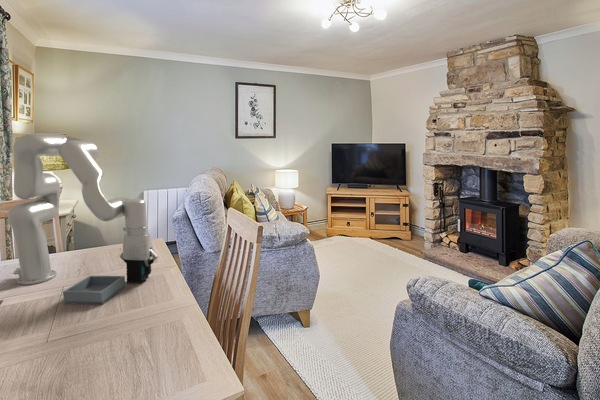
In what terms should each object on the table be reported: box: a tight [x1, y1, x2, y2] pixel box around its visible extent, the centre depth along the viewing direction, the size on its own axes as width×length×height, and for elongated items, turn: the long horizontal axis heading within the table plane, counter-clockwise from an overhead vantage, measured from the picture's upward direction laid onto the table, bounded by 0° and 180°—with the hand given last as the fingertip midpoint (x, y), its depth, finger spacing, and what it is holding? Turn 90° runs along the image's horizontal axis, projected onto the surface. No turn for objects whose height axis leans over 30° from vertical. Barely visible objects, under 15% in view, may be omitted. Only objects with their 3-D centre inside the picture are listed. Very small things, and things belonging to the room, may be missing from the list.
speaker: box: [125, 259, 149, 284], centre depth 131 cm, size 8×6×10 cm
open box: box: [62, 275, 127, 306], centre depth 119 cm, size 14×14×4 cm
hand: (140, 274), depth 131 cm, fingers closed on speaker, 5 cm apart
